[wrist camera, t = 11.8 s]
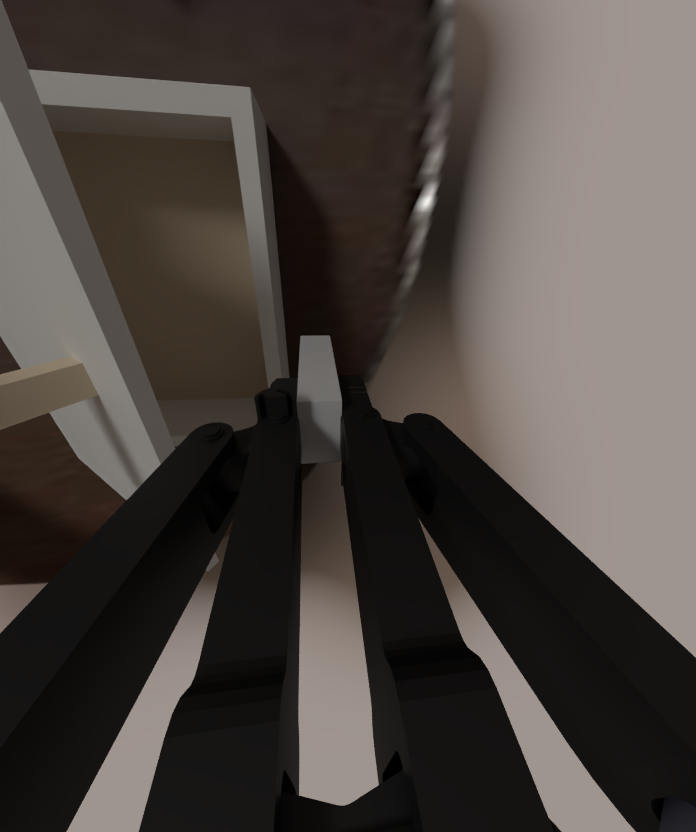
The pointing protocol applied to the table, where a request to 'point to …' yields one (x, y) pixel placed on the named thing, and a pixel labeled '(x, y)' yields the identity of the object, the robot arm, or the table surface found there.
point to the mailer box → (180, 233)
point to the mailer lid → (64, 303)
